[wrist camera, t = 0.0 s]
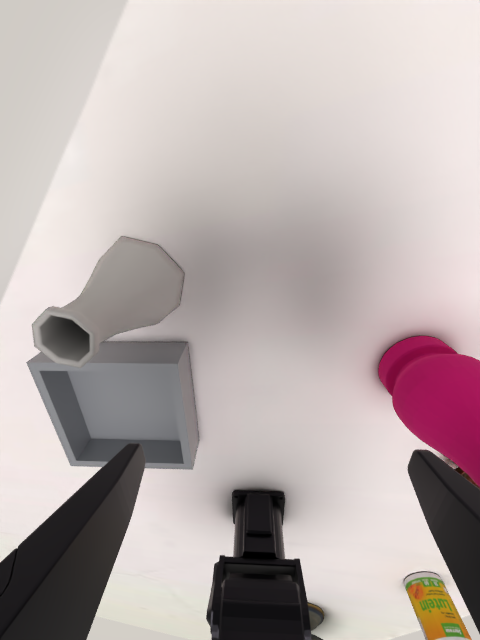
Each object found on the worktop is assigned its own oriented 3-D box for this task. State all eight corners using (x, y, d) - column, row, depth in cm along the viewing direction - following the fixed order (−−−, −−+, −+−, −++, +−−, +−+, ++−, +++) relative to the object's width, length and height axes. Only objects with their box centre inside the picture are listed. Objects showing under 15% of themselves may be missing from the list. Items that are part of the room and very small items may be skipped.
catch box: (199, 440, 29) (192, 469, 26) (90, 437, 30) (70, 465, 27) (187, 342, 24) (177, 363, 21) (55, 341, 25) (26, 362, 21)
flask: (199, 268, 21) (160, 320, 12) (163, 334, 24) (108, 417, 15) (116, 218, 20) (1, 234, 11) (87, 294, 23) (-24, 358, 14)
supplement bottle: (437, 568, 38) (493, 678, 29) (443, 585, 40) (496, 693, 31) (399, 574, 39) (441, 682, 31) (406, 590, 41) (448, 696, 32)
